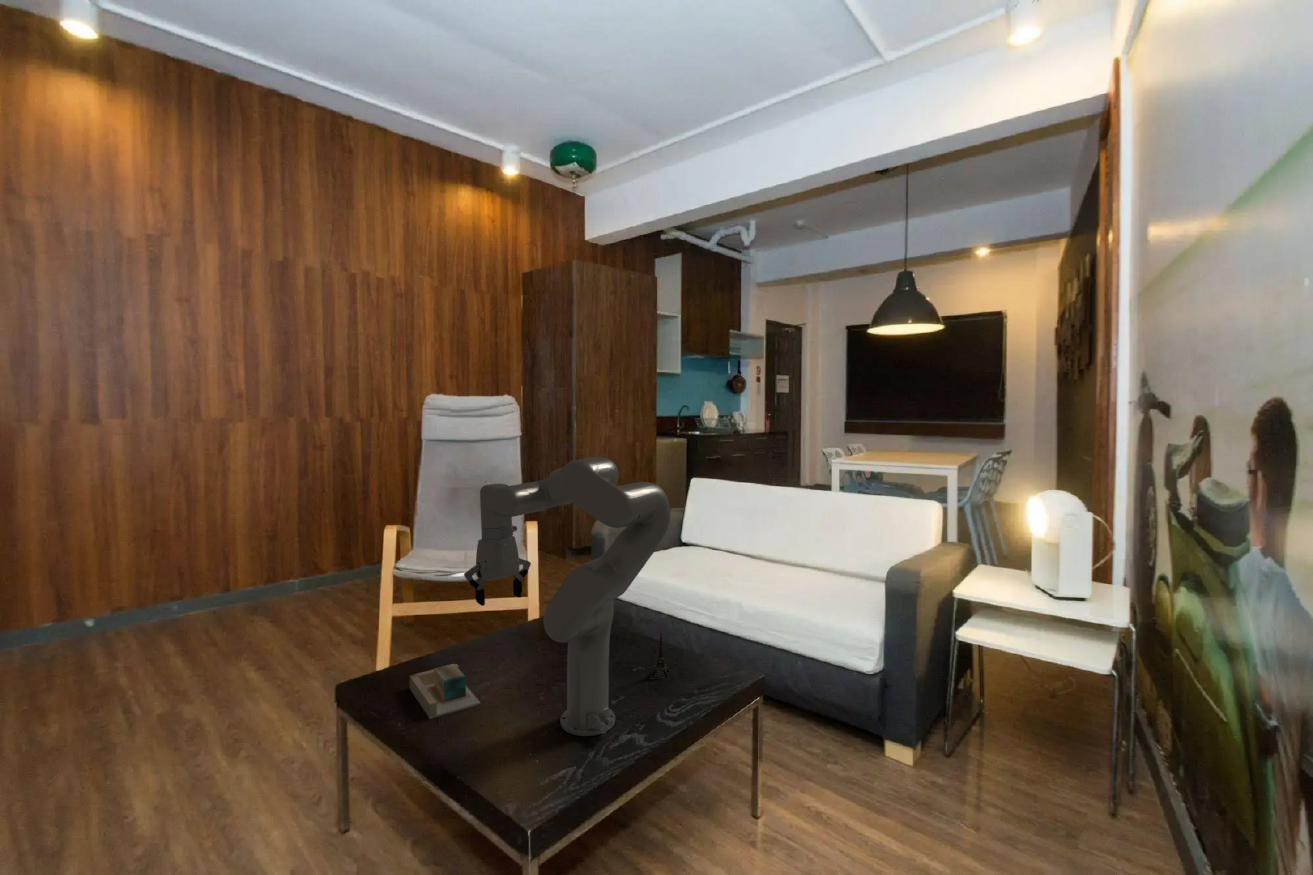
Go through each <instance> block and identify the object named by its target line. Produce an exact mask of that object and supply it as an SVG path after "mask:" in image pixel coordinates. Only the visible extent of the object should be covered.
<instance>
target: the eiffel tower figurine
mask: <svg viewBox="0 0 1313 875" xmlns="http://www.w3.org/2000/svg"><path fill="white" fill-rule="evenodd" d="M658 648H659V650H658V655H657V661H656V662H655V664H656V665H653V664H652V665H653V666H655V667H654V669H651V672H653V673H650V675H651V674H652V676H651V677H650V676H649V680H654V678H659V677H654V675H655V674H660V673H657V672H659V671H661V672H663V673H664V675H665V678H666V679H669V677H668V675H667V672H669V673H670V670H669V669H668V667H667V666H666V665H667V663H666V662H665V658H664V652H663V651H664V650H663V633H662V632H660V633H659V646H658ZM660 661H661V662H660ZM644 667H645V666H643V667H642V666H639V667H636V668H633V669H632V671H633V672H636V671H638V670H646V667H645V668H644Z"/></svg>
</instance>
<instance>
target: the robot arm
mask: <svg viewBox="0 0 1313 875" xmlns="http://www.w3.org/2000/svg"><path fill="white" fill-rule="evenodd" d="M619 477H620V473H619V469H618V466H617V465H616V464H615V463H614V462H613V461H612V460H611V459H609V458H607V457H602V456H596V457H588V458H587V457H586V458H581V459H580V458H579V459H575V460H574V459H573V460H571V461H568V463H566V464H565V465H564V466H563V467H560V468H557V469H555V470H552V471H551V472H550V473H549V475H548V478H547V477H546V478H544V479H541V480H537V481H531V482H523V483H518V484H513V485H508V484H507V483H490V484H486V485H485V484H484V485H483V486H481V488H480V490H479V497H480V498H479V501H480V502H479V503H480V525H481V529H480V530H481V539H478V541H477V547H476V556H475V557H476V558H475V565H473V566H472V567H471V568H469V569H468V570H467V571H465V572H464V573H463V576H464V578H465V579H466V581H467V582H468V584H469V585H470V586H472V587H473V588H474V589H475V591H474V592H475V602H476V603H477V604H478V605H480V606H483V607H484V606H485V605H486V598H485V597H486V596H485V589H483V588H484V586H485V585H486V583H487V582H489V581H490V582H492V581H495V580H500V579H505V578H511V577H513V578H514V579H513V580H512V588H513V590H512V593H513V596H514V597H517V598H522V592H523V581H524V579H525V577H526V576H527V575H528V573H529V569H530V567H531V565H532V563H531V561H529V560H525V559H523V558H520V555H519V550H518V545H517V540H516V538H515V537H516V536H514V533H515V532H517V531H518V526H517V525H513V518H514V517H519V516H522V515H527V514H530V513H531V514H532V513H536V512H540V511H541V512H542V511H545V510H548V509H550V508H551V509H552V508H556V507H559V506H567V505H570V504H575V505H576V506H578V507H579V508H580V509H582V510H583V511H585V512H586V513H587V514H589V515H591V517H593V518H594V519H596V520H597V521H598V522H600V523H602V524H603V525H605V526H607V527H609V528H613V529H614V528H615V529H621V528H622V529H623V528H624V529H623V530H622V531H621V532H619V534H617V536H616V537H615V538H614V541H613V542H612V544H611V545H610V546H609V547H608V549H607V550H606V551H605V552H604V553H603V554H602V555H601V556H599V557H597V558H595V559H592V560H590V561H587V562H583V563H582V564H580V565H578V566H576V567H575V568H574V569H573V570H571V572H570V573H568V574H567V575H566V578H564V580H563V581H562V583H561V585H560V586H559V587H558V589H557V591H556V592H555V593H554V595H553V596H552V597H551V599H550V600H549V602H548V603H547V606H546V608H545V610H544V612H543V628H544V630H545V633H546V635H548V637H549V638H551V640H553V641H555V642H558V643H563V644H564V643H568V644H567V656H566V657H567V658H566V661H567V662H566V665H567V666H566V668H567V669H566V670H567V671H566V672H567V673H566V674H567V675H566V676H567V677H566V678H567V679H566V680H567V681H566V682H567V683H566V684H567V685H566V687H567V688H566V689H567V691H566V693H567V694H566V699H567V700H566V702H567V703H566V707H567V708H566V710H564V712H562V714H561V716H560V720H559V723H560V726H561V728H562V729H563V730H564V731H565V732H567V734H568V733H569V734H570V735H573V736H577V737H591V736H597V735H598V736H599V735H601V734H602V735H604V734H606V733H607V731H609V730H611V729H612V728H613V727H614V725H615V723H616V715H615V713H614V711H613V710H612V709H611V708H609V700H610V699H609V695H610V694H609V692H610V690H609V687H610V680H609V678H610V676H609V674H610V673H609V672H610V670H609V668H610V666H609V665H610V661H609V660H610V641H611V640H610V637H611V629H612V624H613V620H614V613H615V612H614V609H615V608H614V600H616V599H618V598H619V597H621V596H622V595H623V594H624V593H626V591H627V590H628V589H629V588H630V586H631V584H632V583H633V582H634V580H635V579H636V578H637V576H638V575H639V574H640V572H641V571H642V570H643V568H644V567H645V565H646V564H647V562H648V561H649V560H650V559H651V557H652V555H653V554H654V553H655V551H656V550H657V549H658V547H660V544H662V542H663V540H664V538H665V536H666V534H667V532H668V529H669V527H670V522H671V506H670V502H669V499H668V496H667V494H666V493H665V491H664V489H663V488H662V487H660V486H659V485H657V484H656V483H653V482H651V481H638V482H637V481H636V482H632V483H631V482H630V483H626V484H622V485H618V486H617V484H618V481H619V479H620V478H619ZM520 565H522V569H521V570H520ZM474 575H476V578H477V579H476V580H474V577H473V576H474Z"/></svg>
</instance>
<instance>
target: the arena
mask: <svg viewBox="0 0 1313 875" xmlns="http://www.w3.org/2000/svg"><path fill="white" fill-rule="evenodd" d="M454 664H455V665H456V667H457V668H458V669H459V664H457V663H454ZM459 670H460V669H459ZM409 690H410V691H411V693H412V694H413V697H415V699H416V701H417V702H418V703H419V705H420V706H421V709H423V711H424V713H425V712H426V713H425V714H426V715H427V717H428V719H430V720H431V719H434V718H438V717H441V716H445V715H449V714H452V713H455V712H460V711H462V710H466V709H469V708H470V709H471V708H474V707H476V706H479V705H481V701H479V698H477V697H476V695H475V694H474V693H473V692H472V691H471V690H470V688H469V687H468V686H467V685H466V696H464V697H461V698H457V699H454V700H450V701H447V702H445V701H444V699H443V698H442V697H441V695H440V694H439V693H438V692H437V690H436V689H435V688H434V669H430V670H426V671H422V672H418V673H414V674H409Z"/></svg>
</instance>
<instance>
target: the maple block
mask: <svg viewBox="0 0 1313 875" xmlns="http://www.w3.org/2000/svg"><path fill="white" fill-rule="evenodd" d="M455 664H456V663H452V664H447V665H442V666H438V667H434V668H433V670H434V688H435V689H436V690H437V692H438V693H439V694H440V695H441V697H442V698H443V699H444V701H445V702H447V701H450V700H454V699H457V698H461V697H464V696H466V686H467V683H466V682H467V681H466V675H465V674H464V673H463V671H461V670H460V669H458V668H459V667H458V668H457V667H456V665H455Z"/></svg>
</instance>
